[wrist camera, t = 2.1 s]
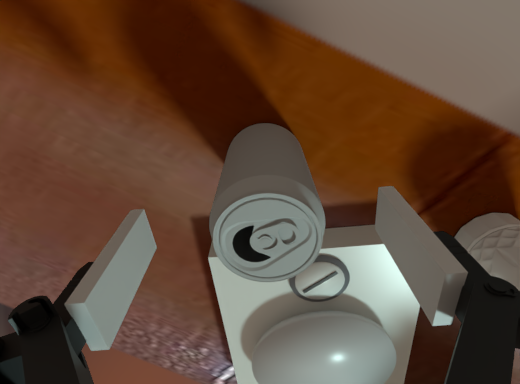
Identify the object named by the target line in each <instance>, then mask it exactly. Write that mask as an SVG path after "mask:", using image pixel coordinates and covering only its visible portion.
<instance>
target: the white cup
mask: <svg viewBox="0 0 520 384" xmlns="http://www.w3.org/2000/svg"><path fill="white" fill-rule="evenodd" d="M454 238H455V239H456V240H457V241H458V242H459V243H460V244H461V245H462V247H464V248H465V249H466V250H467V251H468V254H470V255H471V256H472V257H473V258H474V259H475V260H476V261H477V262H478V263H479V264H480V265H481V266H482V267H483V268H484V269H485V270H486V271H487V272H488V274H489V275H490V276H494V277H498V278H501V279H503V280H506V281H508V282H509V283H511V284H512V285H514V286H515V287H516V288H517V289H518V291H520V220H519V219H517V218H516V217H514V216H512V215H510V214H509V213H489V214H486V215H482V216H479V217H476V218H474V219H473V220H471V221H470V222H468V223H467V224H465V225H464V226H463V227H461V228H460V230H459V231H458V233H457V234H456V235H455V237H454Z"/></svg>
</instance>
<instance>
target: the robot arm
mask: <svg viewBox="0 0 520 384" xmlns="http://www.w3.org/2000/svg"><path fill="white" fill-rule="evenodd" d="M375 230H376V232H377V233H378V235H379V237H380V238H381V240H382V242H383V243H384V245H385V247H386V248H387V250H388V252H389V254H390V255H391V257H392V259H393V260H394V262H395V264H396V265H397V267H398V269H399V271H400V272H401V274H402V276H403V277H404V279H405V281H406V282H407V284H408V286H409V287H410V289H411V291H412V293H413V294H414V296H415V298H416V299H417V301H418V303H419V304H420V306H421V308H422V309H423V311H424V313H425V315H426V316H427V318H428V320H429V321H430V323H431V325H432V326H440V325H452V323H453V320H454V317H455V314H456V316H457V317H458V319H459V320H460V321H461V323H462V324H461V327H460V330H459V333H458V336H457V339H456V344H455V347H454V351H453V354H452V358H451V361H450V364H449V368H448V371H447V375H446V378H445V382H444V384H511V377H512V368H513V360H514V352H515V348H518V349H520V291H518V289H517V288H516V287H515V286H514V285H512V284H511V283H509V282H508V281H506V280H503V279H501V278H498V277H494V276H490V275H489V274H488V272H487V271H486V270H485V269H484V268H483V267H482V266H481V265H480V264H479V263H478V262H477V261H476V260H475V259H474V258H473V257H472V256H471V255H470V254H468V251H467V250H466V249H465V248H464V247H462V245H461V244H460V243H459V242H458V241H457V240H456V239H455V238H454V237H452V236H451V235H449V234H447V233H446V232H444V231H439V232H432V230H431V229H430V228H429V227H428V226H427V225H426V224H425V222H424V221H423V220H422V219H421V218H420V217H419V215H418V214H417V213H416V212H415V211H414V210H413V209H412V207H411V206H410V205H409V204H408V203H407V202H406V201H405V199H404V198H403V197H402V196H401V195H400V194H399V192H398V191H397V190H396V189H395V188H394V187H393V186H387V187H379V189H378V199H377V209H376V220H375ZM156 248H157V246H156V243H155V240H154V237H153V234H152V231H151V229H150V226H149V223H148V220H147V217H146V214H145V211H144V209H139V210H131V211H130V212H129V213H128V215H127V216H126V218H125V219H124V220H123V222H122V223H121V225H120V226H119V228H118V229H117V230H116V232H115V233H114V235H113V236H112V237H111V239H110V240H109V242H108V243H107V245H106V246H105V247H104V249H103V250H102V252H101V253H100V254H99V256H98V257H97V259H96V260H95V261H94V262H88V263H87V264H85V265H84V266H83V267H82V268H81V269H79V270H78V271H77V273H76V274H75V275H74V277H73V278H72V280H71V281H70V282H69V283H68V285H67V287H65V289H64V290H63V291H62V293H61V294H60V295H59V297H58V298H57V300H56V301H55V302H54V304H52V303H51V301H50V299H49V298H48V297H47V296H36V297H33V298H31V299H28V300H26V301H24V302H23V303H21V304H19V305H18V306H17V307H16V308H15V309H14V310H13V311H12V312H11V314H10V315H9V318H8V321H9V323H10V324H11V325H12V327H13V328H14V329H15V331H16V332H15V333H12V334H8V335H5V336H2V337H0V384H94V383H93V380H92V377H91V374H90V371H89V368H88V365H87V362H86V360H85V357H84V355H83V353H82V351H81V350H82V348H83V346H84V345H85V343H86V342H87V344H88V346H89V348H90V349H91V351H95V350H109V349H110V347H111V345H112V343H113V341H114V338H115V336H116V334H117V332H118V330H119V328H120V326H121V323H122V321H123V319H124V317H125V315H126V313H127V310H128V308H129V306H130V304H131V302H132V300H133V298H134V295H135V293H136V291H137V289H138V287H139V285H140V283H141V280H142V278H143V276H144V274H145V272H146V270H147V268H148V265H149V263H150V261H151V259H152V257H153V255H154V252H155V250H156Z"/></svg>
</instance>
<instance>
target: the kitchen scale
mask: <svg viewBox="0 0 520 384" xmlns="http://www.w3.org/2000/svg"><path fill="white" fill-rule="evenodd" d="M208 260H209V264H210V268H211V273H212V277H213V281H214V285H215V290H216V294H217V298H218V302H219V307H220V311H221V315H222V319H223V324H224V328H225V332H226V336H227V341H228V345H229V349H230V353H231V357H232V362H233V366H234V370H235V374H236V379H237V383H238V384H404V380H405V376H406V371H407V366H408V361H409V357H410V352H411V347H412V342H413V337H414V333H415V328H416V323H417V318H418V313H419V309H420V304H419V303H418V301H417V299H416V298H415V296H414V294H413V293H412V291H411V289H410V287H409V286H408V284H407V282H406V281H405V279H404V277H403V276H402V274H401V272H400V271H399V269H398V267H397V265H396V264H395V262H394V260H393V259H392V257H391V255H390V254H389V252H388V250H387V248H386V247H385V245H384V243H383V242H382V240H381V238H380V237H379V235H378V233H377V232H376V230H375V225H364V226H351V227H339V228H327V229H325V231H324V235H323V241H322V246H321V249H320V252H319V254H318V256H317V258H316V259H315V261H314V262H313V263H312V264H311V265H310V266H309V267H308V268H307V269H306V270H304V271H303V272H301V273H300V274H298V275H296V276H294V277H292V278H289V279H286V280H282V281H277V282H257V281H252V280H248V279H245V278H242V277H240V276H238V275H236V274H234V273H233V272H231V271H230V270H229V269H228V268H226V267H225V266H224V265H223V263H222V262H221V261H220V260H219V258H218V256H217V254H216V252H215V250H214V246H213V240H212V243H211V247H210V251H209V255H208Z"/></svg>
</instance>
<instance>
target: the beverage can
mask: <svg viewBox="0 0 520 384" xmlns="http://www.w3.org/2000/svg"><path fill="white" fill-rule="evenodd" d="M209 230H210V234H211V238H212V240H213V246H214V250H215V252H216V254H217V256H218V258H219V260H220V261H221V262H222V263H223V265H224V266H225V267H226V268H228V269H229V270H230V271H231V272H233V273H234V274H236V275H238V276H240V277H242V278H245V279H248V280H252V281H257V282H277V281H282V280H286V279H289V278H292V277H294V276H296V275H298V274H300V273H301V272H303V271H304V270H306V269H307V268H308V267H309V266H310V265H311V264H312V263H313V262H314V261H315V259H316V258H317V256H318V254H319V252H320V249H321V246H322V241H323V235H324V231H325V214H324V210H323V207H322V204H321V202H320V199H319V196H318V193H317V190H316V188H315V185H314V182H313V179H312V176H311V173H310V171H309V168H308V165H307V162H306V159H305V157H304V154H303V151H302V148H301V146H300V144H299V142H298V140H297V139H296V137H295V136H294V135H293V134H292V133H291V132H290V131H288V130H287V129H285V128H283V127H281V126H279V125H276V124H271V123H260V124H255V125H252V126H249V127H247V128H245V129H243V130H242V131H241V132H239V133H238V134H237V135H236V136H235V138H234V139H233V140H232V142H231V144H230V146H229V149H228V152H227V155H226V159H225V163H224V166H223V170H222V173H221V177H220V180H219V184H218V187H217V191H216V195H215V198H214V202H213V205H212V209H211V212H210V219H209Z"/></svg>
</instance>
